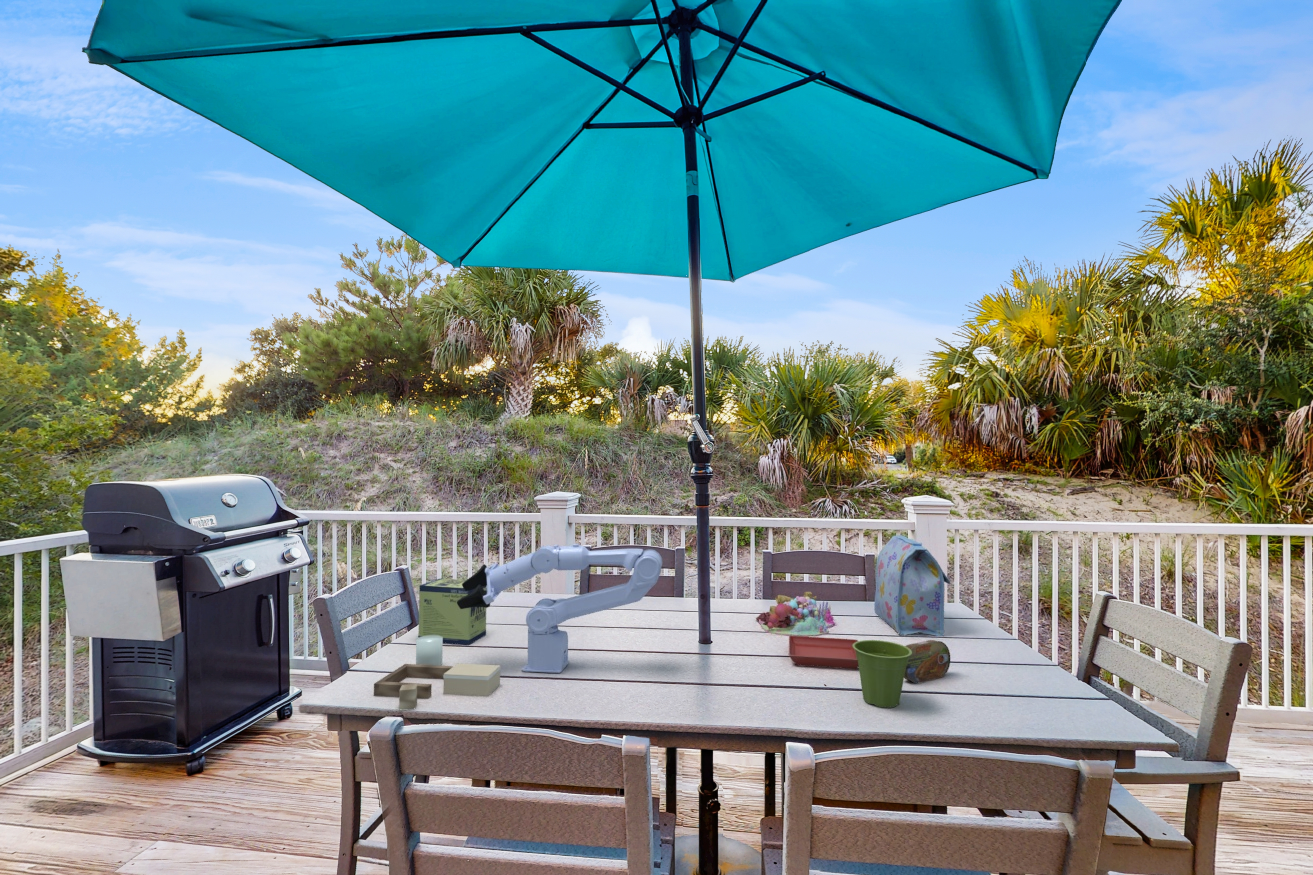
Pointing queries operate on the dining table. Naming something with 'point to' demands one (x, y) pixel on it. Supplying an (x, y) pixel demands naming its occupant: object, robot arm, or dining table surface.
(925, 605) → the lunch bag
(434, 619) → the protein box
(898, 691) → the plant pot
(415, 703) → the beech block
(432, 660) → the dome-topped pale cylinder
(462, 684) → the beige rectangular block
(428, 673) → the brown square frame
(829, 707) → the dining table surface
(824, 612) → the coral reef model
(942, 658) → the tin
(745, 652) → the dining table surface
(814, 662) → the plant saucer
